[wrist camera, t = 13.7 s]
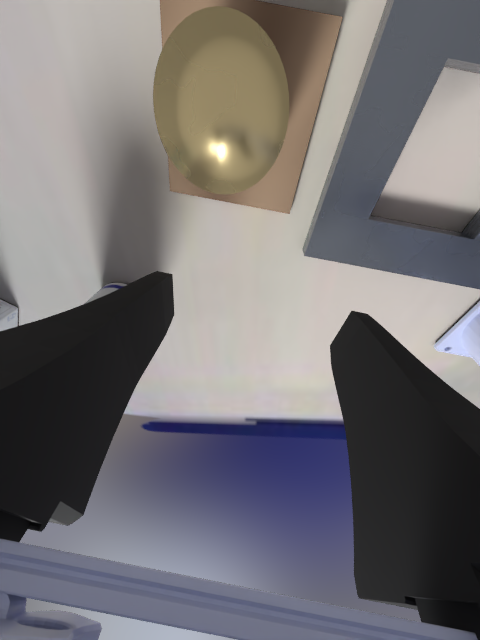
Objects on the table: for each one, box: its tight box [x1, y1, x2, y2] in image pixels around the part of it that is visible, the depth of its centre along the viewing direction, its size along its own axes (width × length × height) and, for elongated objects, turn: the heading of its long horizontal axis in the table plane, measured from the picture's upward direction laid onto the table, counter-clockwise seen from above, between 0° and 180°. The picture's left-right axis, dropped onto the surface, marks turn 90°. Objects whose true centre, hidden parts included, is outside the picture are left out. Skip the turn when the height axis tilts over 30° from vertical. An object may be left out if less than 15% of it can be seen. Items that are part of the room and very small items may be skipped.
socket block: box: [303, 0, 480, 289], centre depth 12 cm, size 13×13×1 cm
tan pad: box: [160, 0, 343, 214], centre depth 12 cm, size 8×8×1 cm
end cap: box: [153, 6, 289, 194], centre depth 10 cm, size 5×5×6 cm
